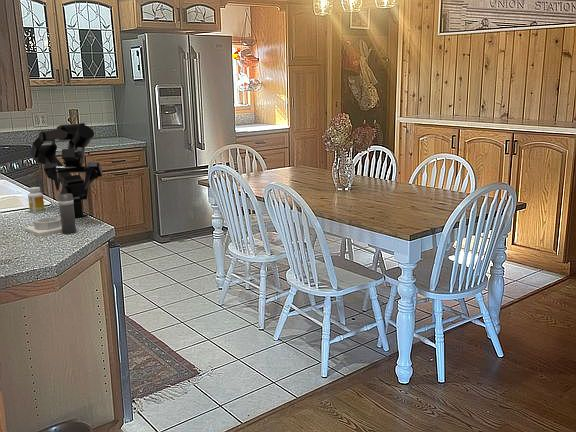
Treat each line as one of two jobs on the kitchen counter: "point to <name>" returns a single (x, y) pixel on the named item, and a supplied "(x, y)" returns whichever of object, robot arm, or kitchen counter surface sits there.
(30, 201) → the supplement bottle
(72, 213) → the dark grey capped cylinder
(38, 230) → the collar mount
